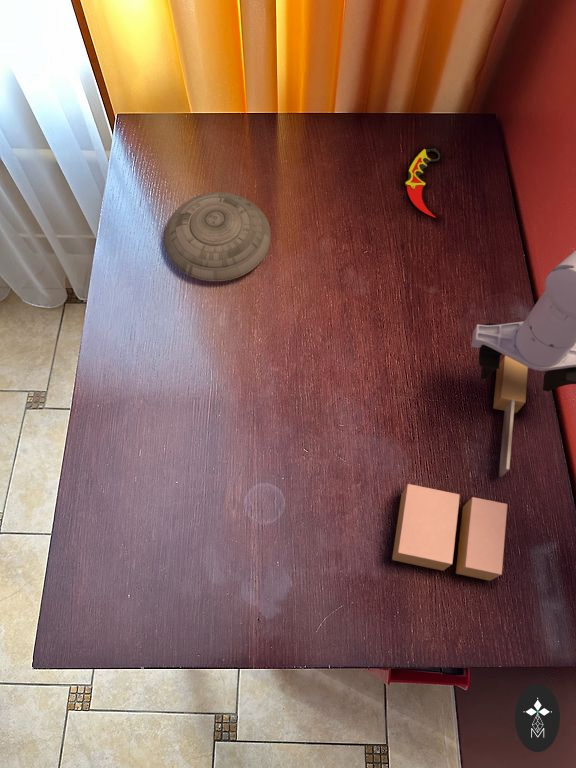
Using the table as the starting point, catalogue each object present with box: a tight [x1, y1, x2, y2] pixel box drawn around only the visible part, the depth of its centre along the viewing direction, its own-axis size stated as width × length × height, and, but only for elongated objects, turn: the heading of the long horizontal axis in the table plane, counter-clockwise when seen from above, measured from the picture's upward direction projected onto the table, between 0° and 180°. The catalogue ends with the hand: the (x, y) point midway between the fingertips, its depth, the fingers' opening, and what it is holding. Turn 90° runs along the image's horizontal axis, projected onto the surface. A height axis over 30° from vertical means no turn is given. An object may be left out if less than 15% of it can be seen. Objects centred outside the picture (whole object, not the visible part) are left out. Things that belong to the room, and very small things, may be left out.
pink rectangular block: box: [391, 483, 461, 572], centre depth 79 cm, size 6×8×4 cm
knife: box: [404, 147, 441, 219], centre depth 102 cm, size 13×1×5 cm
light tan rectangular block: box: [455, 496, 508, 581], centre depth 78 cm, size 4×8×4 cm, turn 168°
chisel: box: [492, 355, 529, 478], centre depth 85 cm, size 15×3×4 cm, turn 168°
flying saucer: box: [163, 191, 272, 282], centre depth 95 cm, size 15×15×6 cm
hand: (515, 377), depth 85 cm, fingers open, 7 cm apart
